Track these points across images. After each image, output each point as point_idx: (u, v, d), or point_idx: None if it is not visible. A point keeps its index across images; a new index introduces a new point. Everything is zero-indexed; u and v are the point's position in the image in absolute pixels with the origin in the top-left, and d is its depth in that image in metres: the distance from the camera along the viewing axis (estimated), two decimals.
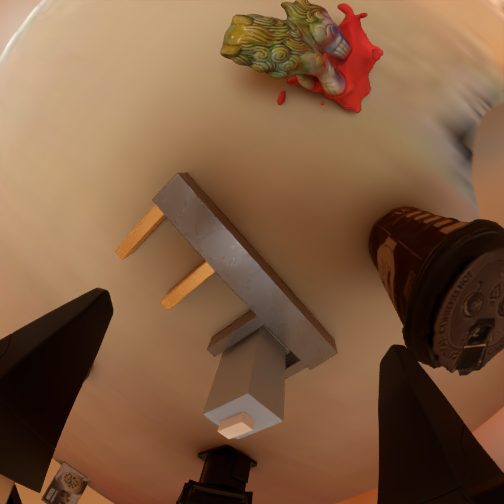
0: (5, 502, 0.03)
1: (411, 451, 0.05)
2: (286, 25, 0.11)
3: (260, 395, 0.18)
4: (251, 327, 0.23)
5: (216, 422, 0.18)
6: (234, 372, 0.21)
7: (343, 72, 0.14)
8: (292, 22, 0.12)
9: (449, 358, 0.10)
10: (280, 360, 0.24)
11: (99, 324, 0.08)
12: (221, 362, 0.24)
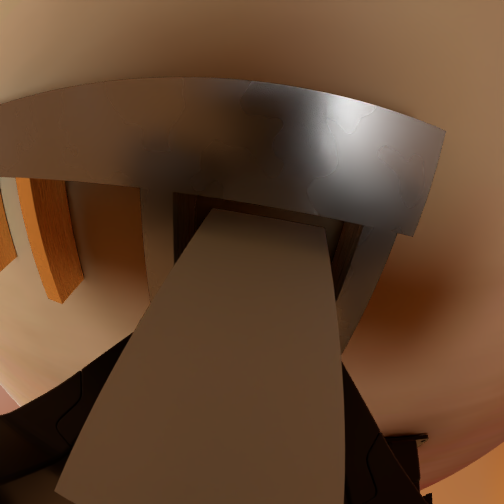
0: None
1: None
2: None
3: (140, 490, 0.02)
4: (159, 226, 0.08)
5: None
6: None
7: None
8: None
9: None
10: (304, 263, 0.07)
11: None
12: None
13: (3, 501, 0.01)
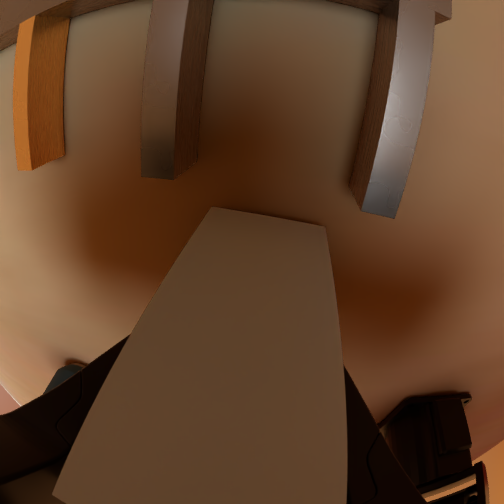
0: None
1: None
2: None
3: (140, 494, 0.02)
4: (173, 4, 0.05)
5: None
6: None
7: None
8: None
9: None
10: (305, 262, 0.07)
11: None
12: None
13: (3, 501, 0.01)
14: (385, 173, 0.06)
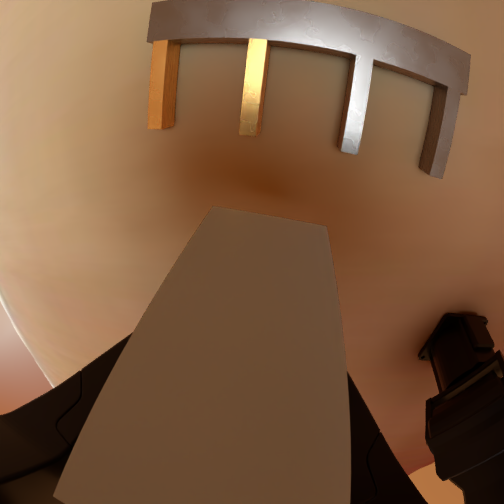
0: None
1: None
2: None
3: (141, 496, 0.02)
4: (364, 74, 0.13)
5: None
6: None
7: None
8: None
9: None
10: (307, 261, 0.07)
11: None
12: None
13: (3, 501, 0.01)
14: (438, 160, 0.14)
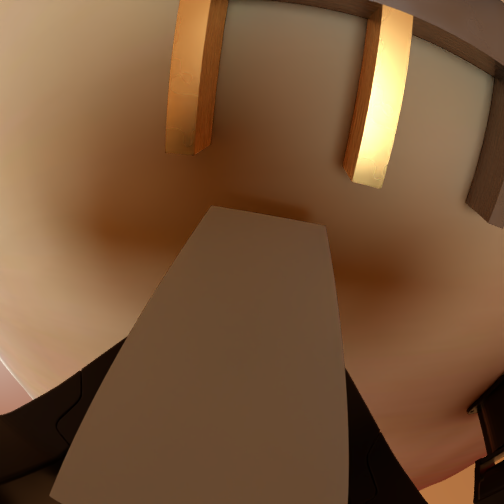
0: None
1: None
2: None
3: (138, 496, 0.02)
4: None
5: None
6: None
7: None
8: None
9: None
10: (305, 261, 0.07)
11: None
12: None
13: (3, 501, 0.01)
14: None
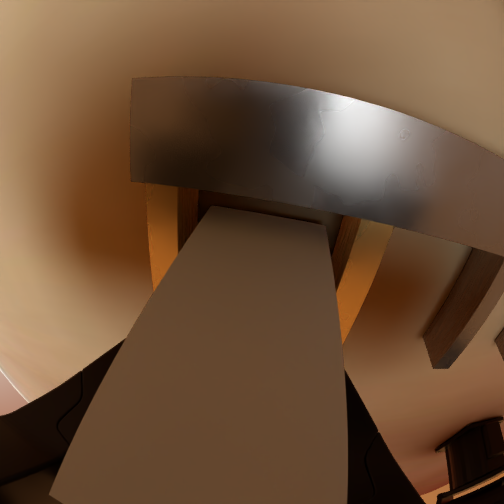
0: None
1: None
2: None
3: (137, 495, 0.02)
4: (501, 284, 0.07)
5: None
6: None
7: None
8: None
9: None
10: (305, 261, 0.07)
11: None
12: None
13: (4, 502, 0.01)
14: None
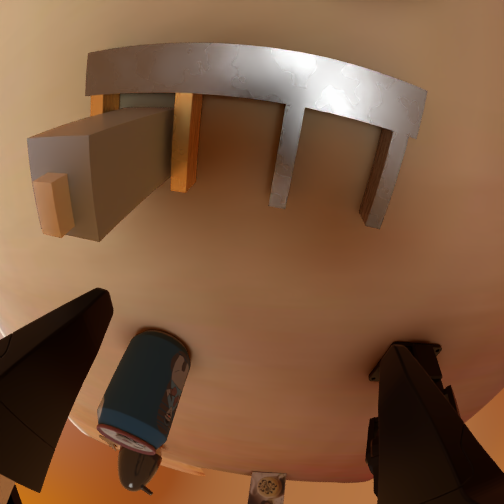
0: (5, 502, 0.03)
1: (412, 451, 0.05)
2: None
3: (53, 133, 0.09)
4: (293, 125, 0.14)
5: None
6: None
7: None
8: None
9: None
10: (150, 111, 0.14)
11: (99, 324, 0.08)
12: None
13: None
14: (376, 210, 0.16)
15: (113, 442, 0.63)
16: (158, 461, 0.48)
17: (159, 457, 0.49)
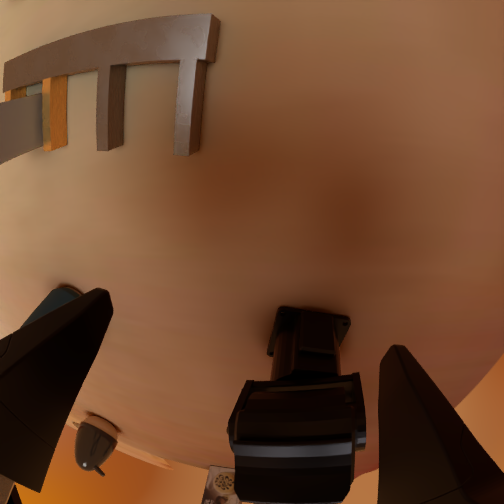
0: (5, 502, 0.03)
1: (411, 451, 0.05)
2: None
3: None
4: (104, 81, 0.14)
5: None
6: None
7: None
8: None
9: None
10: (30, 96, 0.14)
11: (99, 324, 0.08)
12: None
13: None
14: (179, 137, 0.16)
15: None
16: (112, 443, 0.48)
17: (113, 439, 0.49)
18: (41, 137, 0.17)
